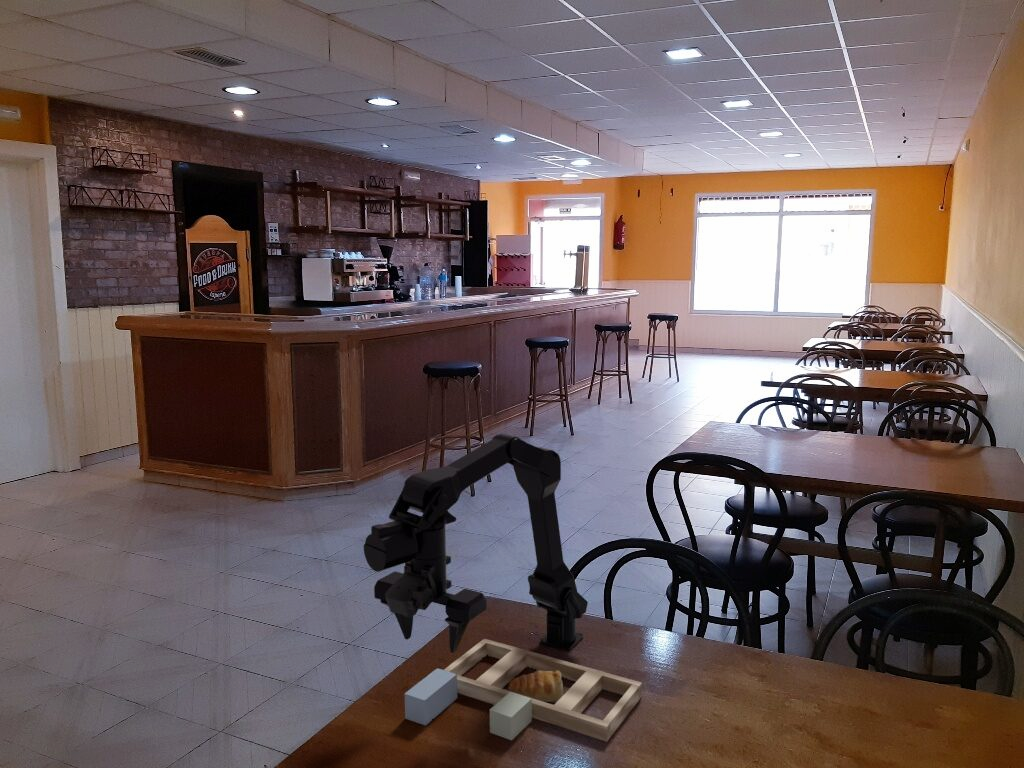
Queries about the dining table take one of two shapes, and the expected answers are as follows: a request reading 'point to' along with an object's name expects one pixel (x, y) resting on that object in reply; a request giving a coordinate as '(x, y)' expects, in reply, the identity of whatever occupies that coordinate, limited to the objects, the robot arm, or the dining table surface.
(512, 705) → the block
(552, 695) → the pastry
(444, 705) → the wing block
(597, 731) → the frame
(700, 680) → the dining table surface
